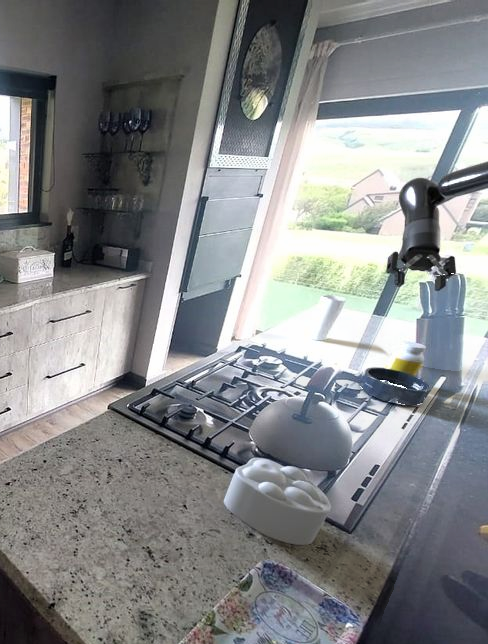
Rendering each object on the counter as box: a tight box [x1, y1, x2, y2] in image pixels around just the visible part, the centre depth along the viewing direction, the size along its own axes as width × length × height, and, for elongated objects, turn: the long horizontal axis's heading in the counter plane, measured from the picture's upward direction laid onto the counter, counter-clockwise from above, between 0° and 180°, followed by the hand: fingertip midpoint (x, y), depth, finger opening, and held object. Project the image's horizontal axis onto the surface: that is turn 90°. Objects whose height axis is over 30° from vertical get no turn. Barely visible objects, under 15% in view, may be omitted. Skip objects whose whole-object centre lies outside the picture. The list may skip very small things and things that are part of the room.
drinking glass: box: [307, 294, 346, 342], centre depth 141 cm, size 7×7×15 cm
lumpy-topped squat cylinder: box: [223, 457, 332, 546], centre depth 68 cm, size 10×13×9 cm
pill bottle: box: [384, 340, 427, 376], centre depth 113 cm, size 6×6×12 cm
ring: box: [358, 366, 433, 406], centre depth 108 cm, size 13×13×5 cm
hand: (419, 287), depth 113 cm, fingers open, 8 cm apart
